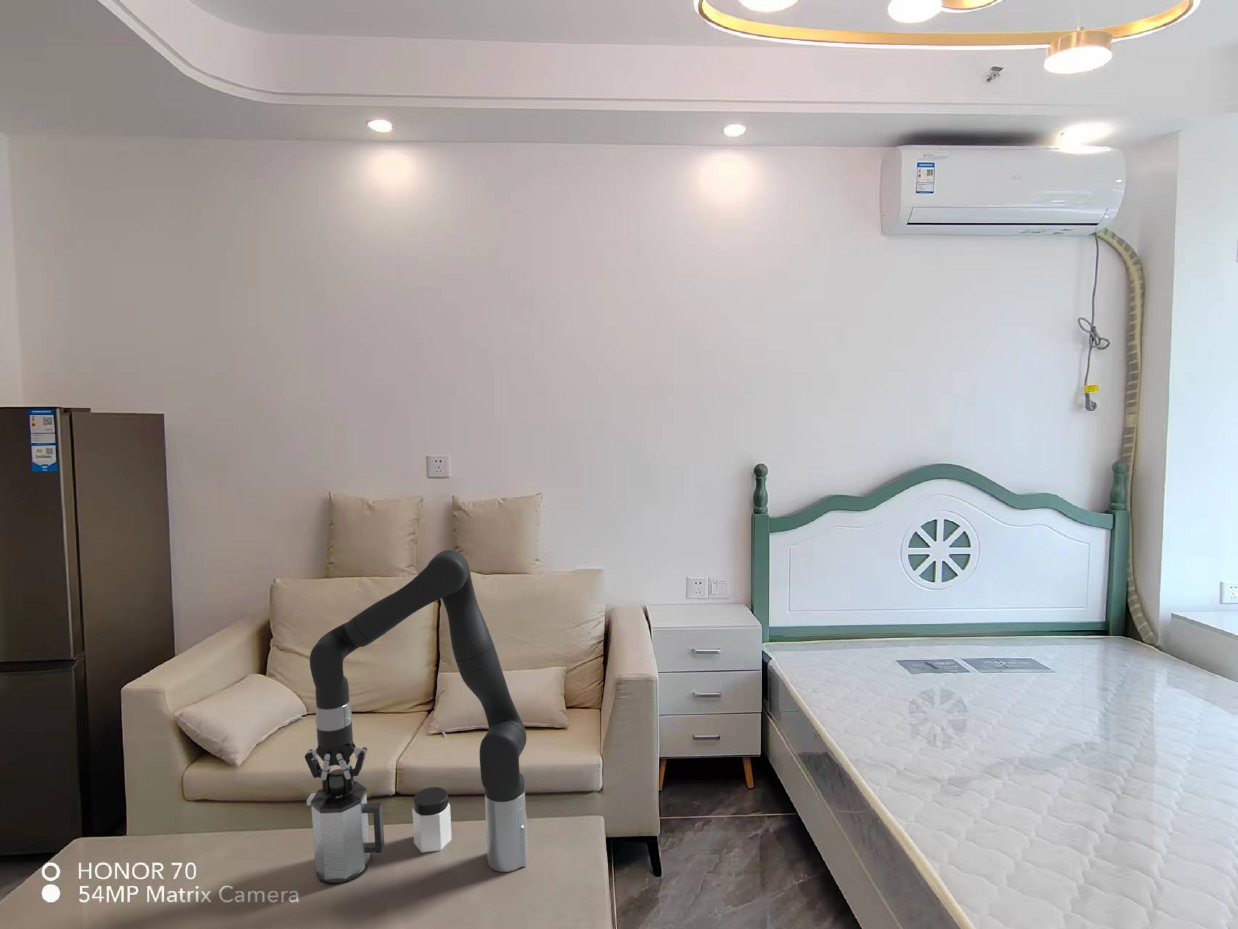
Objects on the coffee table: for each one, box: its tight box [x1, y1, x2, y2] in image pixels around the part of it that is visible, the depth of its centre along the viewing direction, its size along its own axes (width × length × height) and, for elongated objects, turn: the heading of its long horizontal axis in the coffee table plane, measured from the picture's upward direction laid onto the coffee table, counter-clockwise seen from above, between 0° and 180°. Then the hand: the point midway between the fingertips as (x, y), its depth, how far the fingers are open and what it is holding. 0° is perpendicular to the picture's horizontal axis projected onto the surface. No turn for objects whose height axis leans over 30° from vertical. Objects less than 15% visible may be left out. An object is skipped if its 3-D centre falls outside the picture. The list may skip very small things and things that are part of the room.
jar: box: [411, 786, 452, 853], centre depth 179 cm, size 9×8×12 cm
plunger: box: [328, 768, 346, 798], centre depth 169 cm, size 4×4×20 cm
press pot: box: [306, 780, 385, 886], centre depth 170 cm, size 16×12×18 cm
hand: (338, 792), depth 168 cm, fingers closed on plunger, 4 cm apart
